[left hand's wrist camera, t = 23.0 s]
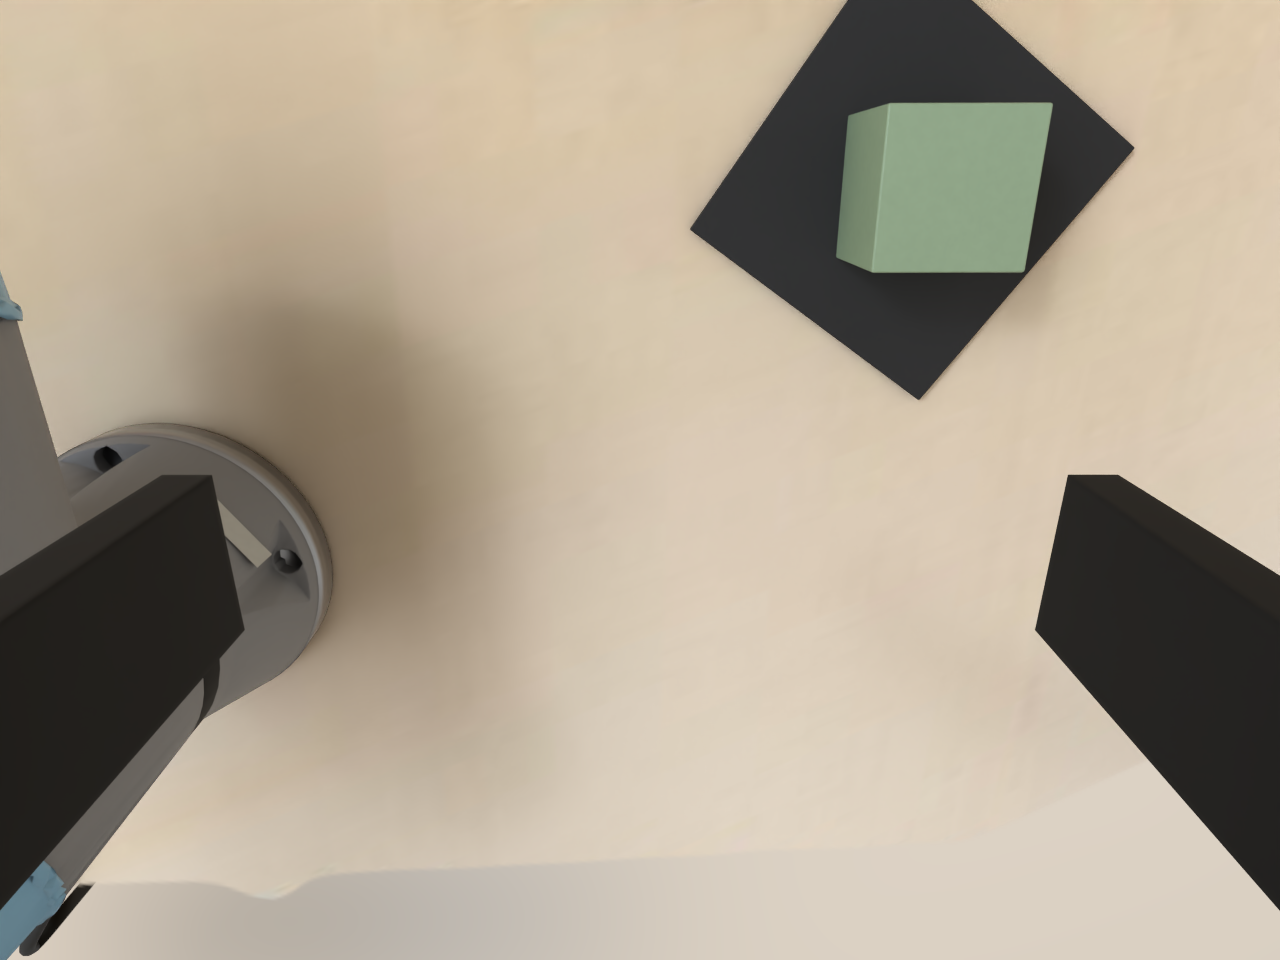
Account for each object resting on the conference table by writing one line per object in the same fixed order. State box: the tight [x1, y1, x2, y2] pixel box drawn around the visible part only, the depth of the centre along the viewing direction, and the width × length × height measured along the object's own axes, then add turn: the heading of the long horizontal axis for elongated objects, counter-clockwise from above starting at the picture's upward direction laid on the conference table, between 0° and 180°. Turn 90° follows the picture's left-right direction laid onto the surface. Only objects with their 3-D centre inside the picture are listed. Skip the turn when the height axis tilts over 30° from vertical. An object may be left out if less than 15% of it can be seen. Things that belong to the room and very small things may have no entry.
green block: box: [836, 103, 1053, 273], centre depth 32 cm, size 6×6×6 cm
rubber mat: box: [690, 0, 1134, 400], centre depth 35 cm, size 14×14×1 cm
